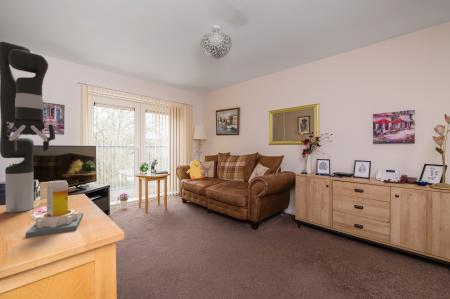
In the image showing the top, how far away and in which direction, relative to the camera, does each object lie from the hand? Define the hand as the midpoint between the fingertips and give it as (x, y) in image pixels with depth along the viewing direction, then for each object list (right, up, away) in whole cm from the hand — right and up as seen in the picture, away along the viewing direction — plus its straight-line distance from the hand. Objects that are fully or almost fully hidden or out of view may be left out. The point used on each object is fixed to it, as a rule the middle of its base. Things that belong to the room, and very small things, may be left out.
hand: (30, 151), depth 77 cm
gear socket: (+10, -28, +1) cm, 30 cm away
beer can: (+10, -27, 0) cm, 28 cm away
